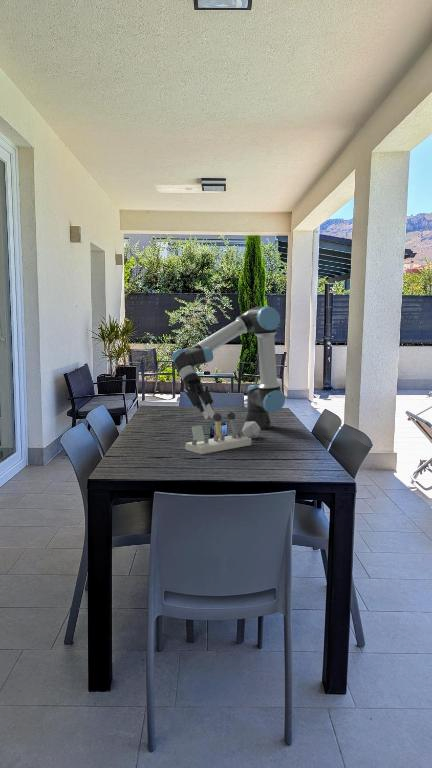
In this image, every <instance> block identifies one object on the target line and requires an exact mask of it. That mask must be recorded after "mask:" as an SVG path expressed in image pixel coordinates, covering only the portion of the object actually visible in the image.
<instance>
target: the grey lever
mask: <svg viewBox="0 0 432 768" xmlns="http://www.w3.org/2000/svg"><path fill="white" fill-rule="evenodd" d="M226 418H227V420H229V423H230V428H231V431H232V433H236V436H238V435H239V433H238V432H239V429H238V427H237V426H238V425H237V422H236V413H235V412H233V411H229V412H228V413H227V414H226Z"/></svg>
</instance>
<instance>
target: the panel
mask: <svg viewBox="0 0 432 768" xmlns="http://www.w3.org/2000/svg"><path fill="white" fill-rule="evenodd" d="M238 433H239V435H238V436H236V433H233V432H232V433H231V435H227V436H226V435H225V434H222V438H220V439H218V436H216V435H213V437H212V438H209V437H206V436H204V438H205V441H201V442H197V440H196V439H194V438H192V439H191V441H189V442H185V445H184V446H185V448H184V450H187V451H188V452H191V453H196V454H199V455H204V454H209V453H215V452H220V451H225V450H226V451H227V450H231V449H236V448H241V447H247V446H248V447H249V446H252V438H247V437H246V436H243V432H242V431H238Z"/></svg>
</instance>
